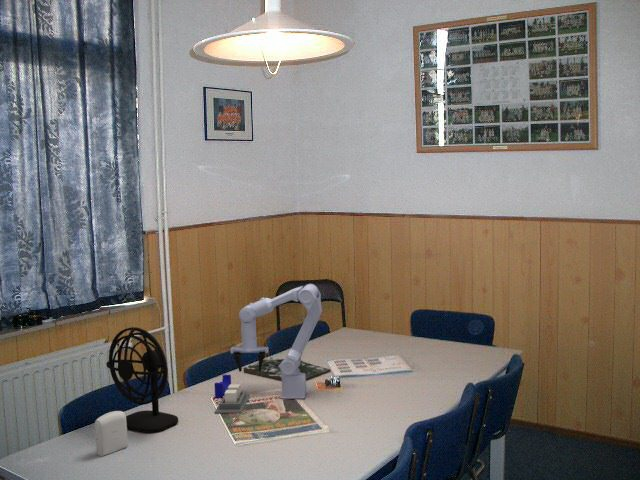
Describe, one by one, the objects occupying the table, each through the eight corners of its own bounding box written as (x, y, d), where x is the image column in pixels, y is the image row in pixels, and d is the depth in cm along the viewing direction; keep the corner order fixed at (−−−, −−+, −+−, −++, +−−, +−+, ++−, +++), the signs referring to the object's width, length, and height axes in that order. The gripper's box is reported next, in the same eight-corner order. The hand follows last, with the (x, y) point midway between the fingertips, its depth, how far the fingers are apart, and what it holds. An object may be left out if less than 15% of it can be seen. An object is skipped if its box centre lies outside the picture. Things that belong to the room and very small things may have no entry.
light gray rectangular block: (237, 404, 269) (237, 389, 268) (235, 407, 265) (235, 393, 264) (227, 404, 269) (226, 389, 269) (225, 407, 265) (224, 393, 265)
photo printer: (102, 457, 224) (99, 418, 223) (94, 454, 227) (92, 416, 226) (130, 447, 232) (128, 409, 231) (122, 444, 235) (120, 407, 233)
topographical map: (296, 386, 293) (296, 379, 292) (239, 373, 313) (239, 366, 313) (335, 371, 313) (335, 364, 312) (279, 359, 333) (279, 353, 333)
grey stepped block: (250, 395, 280) (249, 380, 280) (242, 413, 260) (241, 397, 260) (224, 395, 281) (224, 380, 280) (214, 413, 261) (213, 397, 260)
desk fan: (99, 426, 252) (93, 327, 248) (136, 410, 266) (131, 317, 263) (157, 439, 238) (151, 335, 234) (192, 422, 252) (188, 324, 249)
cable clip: (220, 389, 290) (219, 374, 290) (231, 389, 290) (230, 374, 289) (211, 398, 279) (210, 383, 278) (222, 399, 278) (222, 383, 277)
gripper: (228, 339, 276) (229, 374, 277) (266, 338, 275) (267, 373, 276) (231, 335, 283) (233, 368, 284) (268, 334, 282) (269, 368, 283)
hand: (250, 370), depth 281 cm, fingers open, 7 cm apart
